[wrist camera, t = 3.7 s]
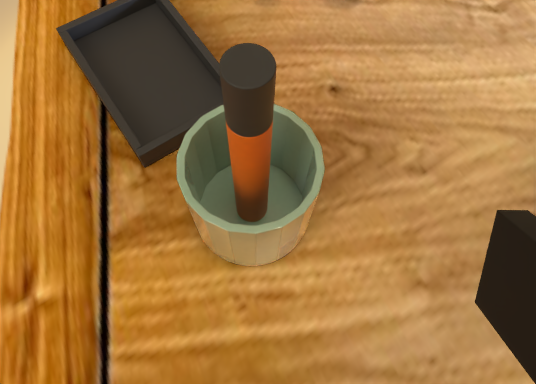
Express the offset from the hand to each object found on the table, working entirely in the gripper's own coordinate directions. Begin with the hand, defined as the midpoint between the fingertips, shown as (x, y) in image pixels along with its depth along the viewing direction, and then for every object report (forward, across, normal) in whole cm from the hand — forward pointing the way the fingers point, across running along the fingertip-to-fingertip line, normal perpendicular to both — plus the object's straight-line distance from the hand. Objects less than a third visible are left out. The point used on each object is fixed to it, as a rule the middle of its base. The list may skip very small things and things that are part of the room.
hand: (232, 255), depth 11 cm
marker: (+21, 0, -8) cm, 23 cm away
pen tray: (+31, -9, 0) cm, 32 cm away
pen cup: (+22, 0, -9) cm, 23 cm away
